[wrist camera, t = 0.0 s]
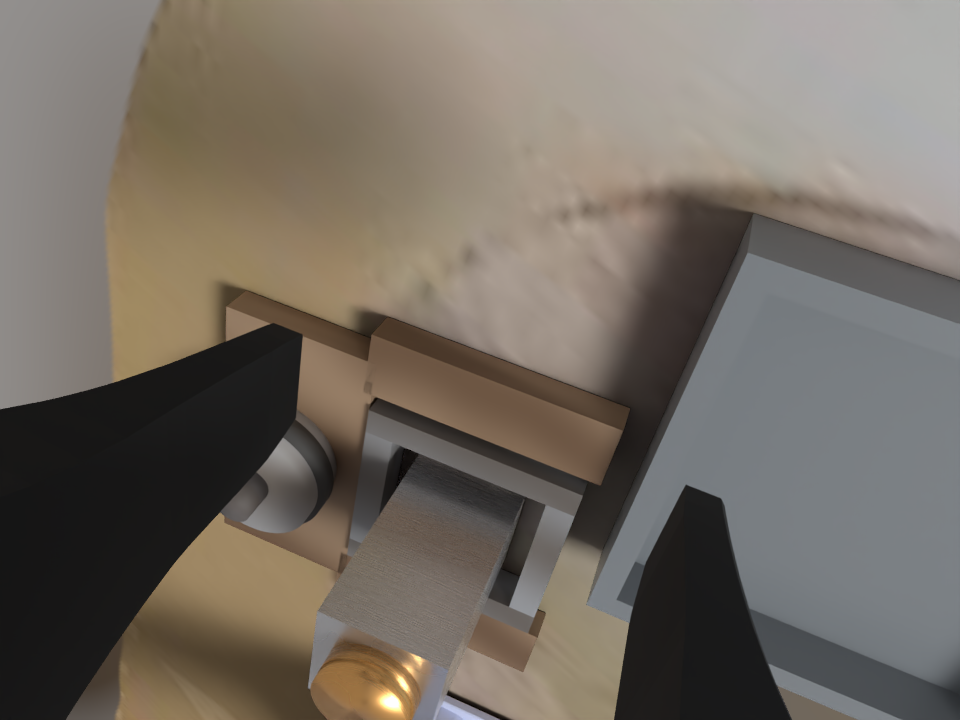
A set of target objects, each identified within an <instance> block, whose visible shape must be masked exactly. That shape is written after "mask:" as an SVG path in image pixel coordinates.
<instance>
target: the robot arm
mask: <svg viewBox="0 0 960 720" xmlns="http://www.w3.org/2000/svg"><path fill="white" fill-rule="evenodd" d="M302 340H303V334H301V333H298V332H296V331H293V330H291V329H288V328H285V327H283V326H280V325H278V324H275V323H272V324H269V325H266V326H263V327H261V328H258V329H256V330H253V331H251V332H248V333H246V334H243V335H241V336H238V337H236V338H233V339H231V340H228V341H226V342H224V343H221V344H219V345H216V346H214V347H211V348H209V349H206V350H204V351H201V352H198V353H196V354H193V355H191V356H188V357H186V358H183V359H181V360H178V361H176V362H173V363H170V364H167V365H164V366H162V367H159V368H156V369H153V370H150V371H147V372H144V373H141V374H138V375H135V376H132V377H129V378H127V379H124V380H121V381H118V382H114V383H111V384H108V385H105V386H101V387H98V388H94V389H91V390H87V391H83V392H79V393H75V394H72V395H67V396H63V397H59V398H55V399H51V400H46V401H42V402H37V403H31V404H26V405H21V406H16V407H10V408H5V409H0V720H66V718H67V716H68V715H69V713H70V712H71V710H72V709H73V707H74V705H75V704H76V702H77V701H78V699H79V698H80V696H81V695H82V693H83V692H84V690H85V689H86V687H87V686H88V684H89V683H90V681H91V680H92V678H93V677H94V675H95V674H96V672H97V671H98V669H99V668H100V666H101V665H102V663H103V662H104V660H105V659H106V657H107V656H108V654H109V652H110V651H111V650H112V648H113V647H114V645H115V644H116V643H117V641H118V640H119V638H120V637H121V636H122V634H123V633H124V631H125V630H126V628H127V627H128V626H129V624H130V623H131V621H132V620H133V619H134V617H135V616H136V614H137V613H138V611H139V610H140V609H141V607H142V606H143V604H144V603H145V602H146V600H147V599H148V598H149V596H150V595H151V594H152V592H153V591H154V590H155V588H156V587H157V586H158V584H159V583H160V582H161V580H162V579H163V578H164V576H165V575H166V573H167V572H168V571H169V569H170V568H171V567H172V565H173V564H174V563H175V562H176V561H177V559H178V558H179V557H180V556H181V555H182V553H183V552H184V551H185V550H186V549H187V548H188V546H189V545H190V544H191V543H192V542H193V541H194V540H195V539H196V538H197V536H198V535H199V534H200V533H201V532H202V531H203V530H204V529H205V528H206V527H207V526H208V525H209V523H210V522H211V521H212V520H213V519H214V518H215V517H216V516H217V515H218V514H219V513H220V512H221V510H222V509H223V508H224V507H225V506H226V505H227V504H228V503H229V502H230V501H231V500H232V498H233V497H234V496H235V495H236V494H237V493H238V492H239V491H240V490H241V489H242V488H243V486H244V485H245V484H246V483H247V482H248V481H249V480H250V479H251V478H252V477H253V475H254V474H255V473H256V472H257V471H258V470H259V469H260V468H261V467H262V465H263V464H264V463H265V462H266V461H267V460H268V458H269V457H270V455H271V454H272V453H273V451H274V450H275V448H276V447H277V446H278V444H279V443H280V441H281V440H282V438H283V437H284V435H285V434H286V432H287V431H288V429H289V428H290V426H291V425H292V423H293V422H294V420H295V419H296V412H297V400H298V388H299V376H300V364H301V352H302ZM436 720H500V719H498V718H496V717H493V716H491V715H489V714H487V713H485V712H483V711H480V710H478V709H476V708H474V707H472V706H469V705H467V704H465V703H463V702H461V701H458V700H456V699H454V698H452V697H450V696H447V695H446V697H445V699H444V702H443V704H442V706H441V709H440V711H439V713H438V716H437V718H436ZM614 720H792V719H791V717H790V714H789V712H788V710H787V708H786V705H785V703H784V701H783V699H782V696H781V694H780V692H779V689H778V687H777V685H776V682H775V680H774V677H773V675H772V672H771V670H770V667H769V665H768V662H767V659H766V657H765V654H764V651H763V648H762V645H761V643H760V640H759V637H758V634H757V631H756V628H755V625H754V622H753V619H752V616H751V613H750V610H749V606H748V603H747V599H746V596H745V593H744V589H743V586H742V582H741V579H740V575H739V571H738V567H737V563H736V559H735V555H734V551H733V546H732V542H731V537H730V532H729V527H728V522H727V517H726V511H725V505H724V503H723V501H722V499H721V498H719V497H716V496H714V495H711V494H709V493H706V492H704V491H701V490H699V489H696V488H694V487H691V486H688V485H685V487H684V489H683V491H682V493H681V495H680V496H679V498H678V500H677V502H676V504H675V506H674V508H673V510H672V512H671V514H670V516H669V518H668V520H667V522H666V524H665V526H664V528H663V530H662V532H661V534H660V536H659V537H658V539H657V541H656V543H655V545H654V547H653V549H652V551H651V553H650V555H649V557H648V559H647V561H646V563H645V567H644V570H643V574H642V577H641V581H640V584H639V588H638V591H637V595H636V598H635V602H634V605H633V609H632V613H631V617H630V623H629V629H628V635H627V641H626V648H625V654H624V660H623V666H622V673H621V679H620V686H619V692H618V698H617V705H616V711H615V717H614Z"/></svg>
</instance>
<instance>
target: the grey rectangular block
mask: <svg viewBox="0 0 960 720" xmlns="http://www.w3.org/2000/svg"><path fill="white" fill-rule="evenodd" d="M525 499H526V497H525V496H522V495H520V494H518V493H515V492H513V491H510V490H508V489H505V488H503V487H500V486H498V485H495V484H493V483H490V482H488V481H485V480H483V479H481V478H478V477H476V476H473V475H471V474H468V473H466V472H463V471H461V470H458V469H456V468H453V467H451V466H448V465H446V464H444V463H441V462H439V461H436V460H434V459H431V458H429V457H426V456H424V455H421V454H419V455H418V456H417V458H416V459H415V461H414V462H413V464H412V466H411V467H410V469H409V470H408V472H407V473H406V475H405V476H404V478H403V479H402V481H401V483H400V484H399V486H398V487H397V489H396V490H395V492H394V493H393V495H392V497H391V498H390V500H389V501H388V503H387V504H386V506H385V507H384V509H383V510H382V512H381V514H380V515H379V517H378V518H377V520H376V521H375V523H374V524H373V526H372V527H371V529H370V531H369V532H368V534H367V535H366V537H365V538H364V540H363V541H362V543H361V545H360V546H359V548H358V549H357V551H356V552H355V554H354V555H353V557H352V558H351V560H350V562H349V563H348V565H347V566H346V568H345V569H344V571H343V572H342V574H341V576H340V577H339V579H338V580H337V582H336V583H335V585H334V586H333V588H332V589H331V591H330V593H329V594H328V596H327V597H326V599H325V600H324V602H323V603H322V605H321V606H320V608H319V610H318V611H317V619H316V627H315V635H314V643H313V651H312V659H311V667H310V675H309V683H308V688H309V689H310V692H311V696H312V699H313V701H314V703H315V705H316V707H317V708H318V710H319V711H320V712H321V713H322V714H323V715H324V717H325V718H326V719H328V720H436V718H437V716H438V713H439V711H440V709H441V706H442V704H443V702H444V699H445V697H446V695H447V692H448V690H449V688H450V685H451V683H452V681H453V678H454V676H455V674H456V671H457V669H458V667H459V664H460V662H461V660H462V657H463V655H464V653H465V650H466V648H467V646H468V643H469V641H470V639H471V636H472V634H473V632H474V629H475V627H476V625H477V622H478V620H479V618H480V615H481V613H482V611H483V608H484V606H485V604H486V601H487V599H488V597H489V594H490V592H491V590H492V587H493V585H494V583H495V580H496V578H497V576H498V574H499V571H500V569H501V567H502V564H503V562H504V560H505V557H506V555H507V552H508V549H509V546H510V543H511V540H512V537H513V534H514V531H515V528H516V525H517V522H518V519H519V516H520V513H521V510H522V507H523V504H524V502H525Z"/></svg>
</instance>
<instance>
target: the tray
mask: <svg viewBox="0 0 960 720" xmlns="http://www.w3.org/2000/svg"><path fill="white" fill-rule="evenodd" d="M685 485H688V486H691V487H694V488H696V489H699V490H701V491H704V492H706V493H709V494H711V495H714V496H716V497H719V498H721V499H722V501H723V503H724V505H725V511H726V517H727V522H728V527H729V532H730V537H731V542H732V546H733V551H734V555H735V559H736V563H737V567H738V571H739V575H740V579H741V582H742V586H743V589H744V593H745V596H746V599H747V603H748V606H749V610H750V613H751V616H752V619H753V622H754V625H755V628H756V631H757V634H758V637H759V640H760V643H761V645H762V648H763V651H764V654H765V657H766V659H767V662H768V665H769V667H770V670H771V672H772V675H773V677H774V680H775V682H776V685H777V686H780V687H782V688H785V689H787V690H789V691H791V692H794V693H796V694H798V695H801V696H803V697H806V698H808V699H810V700H813V701H815V702H817V703H820V704H822V705H824V706H827V707H829V708H832V709H834V710H836V711H839V712H841V713H843V714H846V715H848V716H851V717H853V718H855V719H858V720H960V281H959V280H956V279H953V278H950V277H947V276H943V275H940V274H937V273H934V272H931V271H928V270H925V269H922V268H919V267H916V266H913V265H910V264H907V263H904V262H901V261H898V260H895V259H892V258H889V257H886V256H882V255H879V254H876V253H873V252H870V251H867V250H864V249H861V248H858V247H855V246H852V245H849V244H846V243H843V242H840V241H837V240H834V239H831V238H828V237H825V236H822V235H818V234H815V233H812V232H809V231H806V230H803V229H800V228H797V227H794V226H791V225H788V224H785V223H782V222H779V221H776V220H773V219H770V218H767V217H764V216H761V215H757V214H753V216H752V218H751V221H750V223H749V225H748V227H747V230H746V232H745V234H744V236H743V239H742V241H741V243H740V245H739V247H738V250H737V252H736V254H735V256H734V259H733V261H732V263H731V265H730V267H729V270H728V272H727V274H726V276H725V279H724V281H723V283H722V285H721V288H720V290H719V292H718V294H717V296H716V299H715V301H714V303H713V305H712V308H711V310H710V312H709V314H708V317H707V319H706V321H705V323H704V325H703V328H702V330H701V332H700V334H699V337H698V339H697V341H696V343H695V346H694V348H693V350H692V352H691V354H690V357H689V359H688V361H687V363H686V366H685V368H684V370H683V372H682V375H681V377H680V379H679V381H678V383H677V386H676V388H675V390H674V392H673V395H672V397H671V399H670V401H669V403H668V406H667V408H666V410H665V412H664V415H663V417H662V419H661V421H660V424H659V426H658V428H657V430H656V432H655V435H654V437H653V439H652V441H651V444H650V446H649V448H648V450H647V453H646V455H645V457H644V459H643V461H642V464H641V466H640V468H639V470H638V473H637V475H636V477H635V479H634V482H633V484H632V486H631V488H630V490H629V493H628V495H627V497H626V499H625V502H624V504H623V506H622V508H621V511H620V513H619V515H618V517H617V519H616V522H615V524H614V526H613V528H612V531H611V533H610V535H609V537H608V539H607V542H606V544H605V546H604V548H603V551H602V553H601V557H600V560H599V564H598V567H597V570H596V574H595V577H594V580H593V584H592V587H591V591H590V594H589V597H588V601H587V604H586V605H588V606H591V607H593V608H595V609H598V610H600V611H602V612H605V613H607V614H609V615H612V616H614V617H617V618H619V619H621V620H624V621H626V622H628V623H630V617H631V613H632V609H633V605H634V602H635V598H636V595H637V591H638V588H639V584H640V581H641V577H642V574H643V570H644V567H645V563H646V561H647V559H648V557H649V555H650V553H651V551H652V549H653V547H654V545H655V543H656V541H657V539H658V537H659V536H660V534H661V532H662V530H663V528H664V526H665V524H666V522H667V520H668V518H669V516H670V514H671V512H672V510H673V508H674V506H675V504H676V502H677V500H678V498H679V496H680V495H681V493H682V491H683V489H684V487H685Z"/></svg>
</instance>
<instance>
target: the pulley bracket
mask: <svg viewBox="0 0 960 720" xmlns="http://www.w3.org/2000/svg"><path fill="white" fill-rule="evenodd" d="M272 323H275V324H278V325H280V326H283V327H285V328H288V329H291V330H293V331H296V332H298V333H301V334H303V340H302V352H301V364H300V376H299V388H298V400H297V412H296V419H295V420H294V422H293V423H292V425H291V426H290V428H289V429H288V431H287V432H286V434H285V435H284V437H283V438H282V440H281V441H280V443H279V444H278V446H277V447H276V448H275V450H274V451H273V453H272V454H271V455H270V457H269V458H268V460H267V461H266V462H265V463H264V464H263V465H262V467H261V468H260V469H259V470H258V471H257V472H256V473H255V474H254V475H253V477H252V478H251V479H250V480H249V481H248V482H247V483H246V484H245V485H244V486H243V488H242V489H241V490H240V491H239V492H238V493H237V494H236V495H235V496H234V497H233V498H232V500H231V501H230V502H229V503H228V504H227V505H226V506H225V507H224V508H223V509H222V510H221V513H222V514H223V515H224V516H225V523H227V524H229V525H231V526H233V527H236V528H238V529H240V530H243V531H245V532H247V533H249V534H252V535H254V536H256V537H258V538H261V539H263V540H265V541H268V542H270V543H272V544H274V545H277V546H279V547H281V548H283V549H286V550H288V551H290V552H293V553H295V554H297V555H299V556H302V557H304V558H306V559H308V560H311V561H313V562H315V563H318V564H320V565H322V566H324V567H327V568H329V569H331V570H334V571H336V572H338V573H337V580H338V579H339V577H340V576H341V574H342V572H343V571H344V569H345V568H346V566H347V565H348V563H349V562H350V560H351V558H352V557H353V555H354V554H355V552H356V551H357V549H358V548H359V546H360V545H361V543H362V541H363V540H364V538H365V537H366V535H367V534H368V532H369V531H370V529H371V527H372V526H373V524H374V523H375V521H376V520H377V518H378V517H379V515H380V514H381V512H382V510H383V509H384V507H385V506H386V504H387V503H388V501H389V500H390V498H391V497H392V495H393V493H394V492H395V490H396V486H397V481H398V475H399V470H400V465H401V460H402V455H403V450H404V448H407V449H409V450H411V451H414V452H416V453H419V454H421V455H424V456H426V457H429V458H431V459H434V460H436V461H439V462H441V463H444V464H446V465H448V466H451V467H453V468H456V469H458V470H461V471H463V472H466V473H468V474H471V475H473V476H476V477H478V478H481V479H483V480H485V481H488V482H490V483H493V484H495V485H498V486H500V487H503V488H505V489H508V490H510V491H513V492H515V493H518V494H520V495H522V496H525V497H527V498H530V499H532V500H535V501H537V502H540V503H542V504H545V505H546V507H545V509H544V512H543V515H542V518H541V520H540V523H539V526H538V529H537V531H536V534H535V537H534V540H533V542H532V545H531V548H530V551H529V553H528V556H527V559H526V562H525V564H524V567H523V570H522V573H521V575H520V577H519V576H516V575H514V574H512V573H509V572H507V571H505V570H502V569H500V571H499V574H498V576H497V578H496V580H495V583H494V585H493V587H492V590H491V592H490V594H489V597H488V599H487V601H486V604H485V606H484V608H483V611H482V613H481V615H480V618H479V620H478V622H477V625H476V627H475V629H474V632H473V634H472V636H471V639H470V641H469V643H468V646H467V647H468V648H470V649H472V650H474V651H477V652H479V653H481V654H483V655H486V656H488V657H490V658H492V659H495V660H497V661H499V662H501V663H504V664H506V665H508V666H510V667H513V668H515V669H517V670H519V671H522V672H523V671H524V669H525V666H526V664H527V662H528V659H529V657H530V654H531V652H532V650H533V647H534V645H535V642H536V640H537V638H538V635H539V632H540V629H541V626H542V623H543V620H544V617H545V614H546V613H544V612H541V611H539V610H538V607H539V605H540V602H541V600H542V597H543V595H544V592H545V590H546V587H547V585H548V582H549V580H550V577H551V575H552V572H553V570H554V567H555V565H556V562H557V560H558V557H559V555H560V552H561V550H562V547H563V545H564V542H565V540H566V537H567V535H568V532H569V530H570V527H571V525H572V522H573V520H574V517H575V515H576V512H577V510H578V507H579V505H580V502H581V500H582V497H583V494H584V492H585V489H586V486H587V483H588V481H589V482H592V483H594V484H597V485H599V486H601V483H602V481H603V478H604V476H605V474H606V471H607V469H608V466H609V464H610V462H611V459H612V457H613V454H614V452H615V449H616V447H617V445H618V442H619V440H620V437H621V435H622V433H623V430H624V427H625V424H626V421H627V418H628V414H629V411H630V408H628V407H625V406H622V405H620V404H617V403H614V402H612V401H609V400H607V399H604V398H601V397H599V396H596V395H593V394H591V393H588V392H585V391H583V390H580V389H577V388H575V387H572V386H569V385H567V384H564V383H562V382H559V381H556V380H554V379H551V378H548V377H546V376H543V375H540V374H538V373H535V372H532V371H530V370H527V369H524V368H522V367H519V366H517V365H514V364H511V363H509V362H506V361H503V360H501V359H498V358H495V357H493V356H490V355H487V354H485V353H482V352H480V351H477V350H474V349H472V348H469V347H466V346H464V345H461V344H458V343H456V342H453V341H450V340H448V339H445V338H442V337H440V336H437V335H435V334H432V333H429V332H427V331H424V330H421V329H419V328H416V327H413V326H411V325H408V324H405V323H403V322H400V321H397V320H395V319H392V318H390V317H387V318H386V319H385V320H384V321H383V322H382V324H381V325H380V326H379V327H378V328H377V329H376V330H375V331H374V332H373V334H372V336H371V338H368V337H366V336H363V335H361V334H358V333H355V332H353V331H350V330H348V329H345V328H342V327H340V326H337V325H335V324H332V323H329V322H327V321H324V320H321V319H319V318H316V317H314V316H311V315H308V314H306V313H303V312H301V311H298V310H295V309H293V308H290V307H288V306H285V305H282V304H280V303H277V302H275V301H272V300H269V299H267V298H264V297H262V296H259V295H256V294H254V293H251V292H249V291H245V292H244V293H243V294H241V295H240V296H239V297H237V298H236V299H235V300H234V301H232V302H231V303H230V304H228V305H227V306H226V341H228V340H231V339H233V338H236V337H238V336H241V335H243V334H246V333H248V332H251V331H253V330H256V329H258V328H261V327H263V326H266V325H269V324H272ZM337 580H336V582H337Z"/></svg>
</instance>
